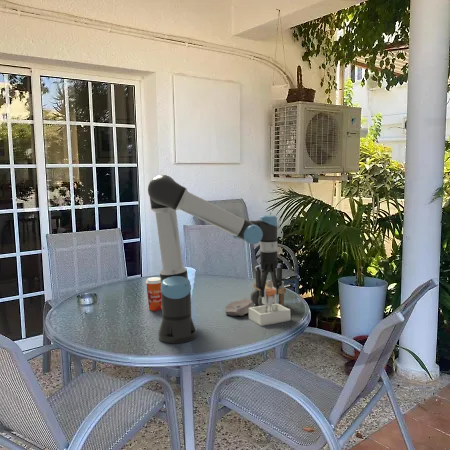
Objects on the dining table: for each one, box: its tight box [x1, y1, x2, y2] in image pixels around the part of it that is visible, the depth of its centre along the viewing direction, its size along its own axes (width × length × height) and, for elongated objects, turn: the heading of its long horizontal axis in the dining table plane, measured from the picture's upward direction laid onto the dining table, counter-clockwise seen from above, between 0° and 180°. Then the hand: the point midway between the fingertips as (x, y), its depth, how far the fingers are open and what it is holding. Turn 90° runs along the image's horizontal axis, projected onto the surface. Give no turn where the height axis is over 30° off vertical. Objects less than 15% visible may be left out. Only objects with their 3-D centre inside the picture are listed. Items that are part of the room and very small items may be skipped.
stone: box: [224, 298, 256, 317], centre depth 205 cm, size 13×10×6 cm
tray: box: [248, 302, 291, 327], centre depth 196 cm, size 15×11×5 cm
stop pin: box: [265, 288, 276, 313], centre depth 195 cm, size 4×4×11 cm
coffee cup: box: [145, 276, 162, 312], centre depth 214 cm, size 8×8×15 cm
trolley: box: [250, 279, 287, 307], centre depth 214 cm, size 12×15×13 cm
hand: (269, 302), depth 195 cm, fingers closed on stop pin, 4 cm apart
